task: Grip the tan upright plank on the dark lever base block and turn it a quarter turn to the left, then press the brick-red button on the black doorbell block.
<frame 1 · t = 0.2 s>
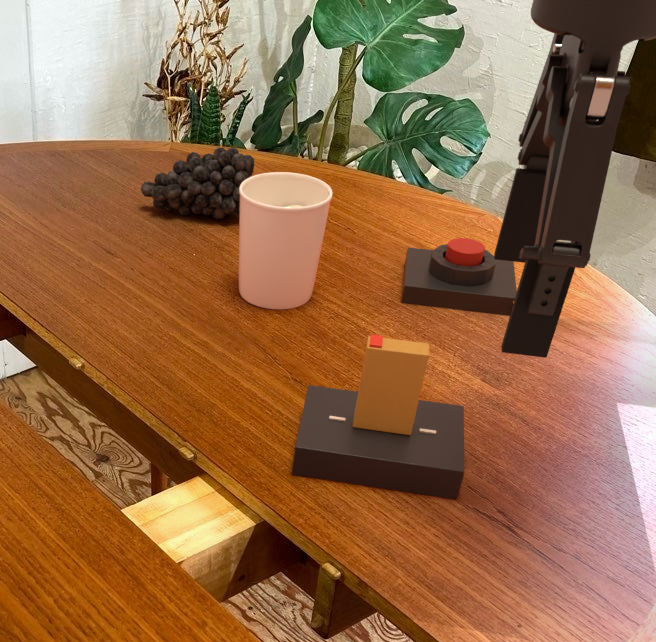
hand: (517, 302, 66), 20 cm above the table, tool pointing down, fingers open, 13 cm apart
bell block: (456, 289, 110), on the table
dark lever base block: (376, 453, 86), on the table
tan upright plank: (390, 385, 81), point 7 cm above the table, hinge at 0.0°
fruit: (197, 212, 126), on the table
bell button: (464, 252, 107), point 4 cm above the table, slide at 0.1 cm
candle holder: (274, 294, 109), on the table
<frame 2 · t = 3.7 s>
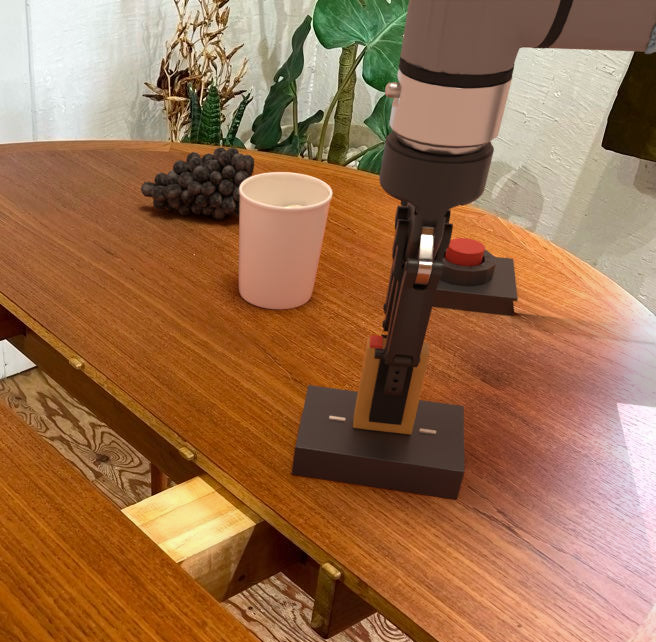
hand: (384, 411, 83), 4 cm above the table, tool pointing down, fingers closed on tan upright plank, 2 cm apart
tan upright plank: (390, 385, 81), point 7 cm above the table, hinge at 2.8°, touching gripper
everything else where it was.
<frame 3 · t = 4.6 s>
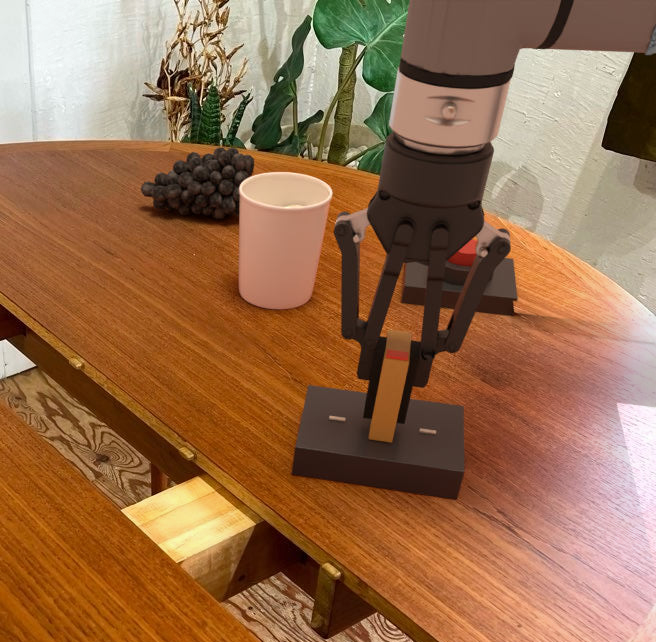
hand: (384, 411, 83), 4 cm above the table, tool pointing down, fingers closed on tan upright plank, 2 cm apart
tan upright plank: (390, 385, 81), point 7 cm above the table, hinge at 89.3°, touching gripper
everything else where it was.
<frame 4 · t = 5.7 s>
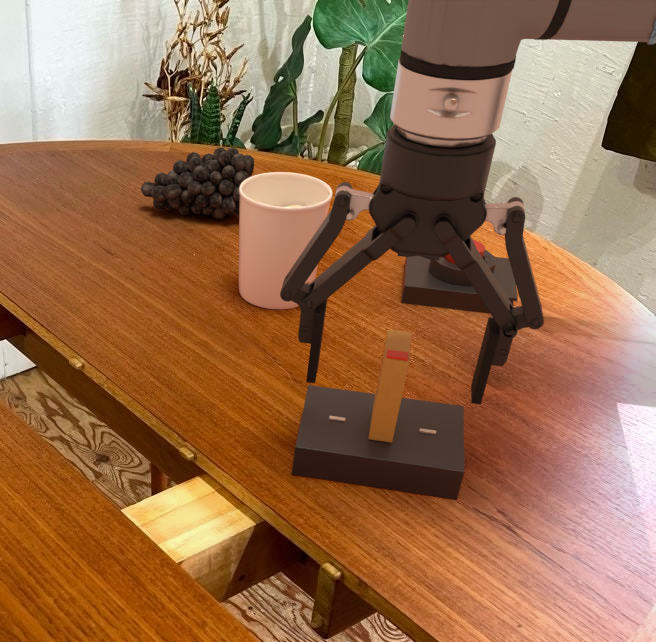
hand: (392, 385, 81), 7 cm above the table, tool pointing down, fingers open, 13 cm apart
tan upright plank: (390, 385, 81), point 7 cm above the table, hinge at 89.3°
everything else where it was.
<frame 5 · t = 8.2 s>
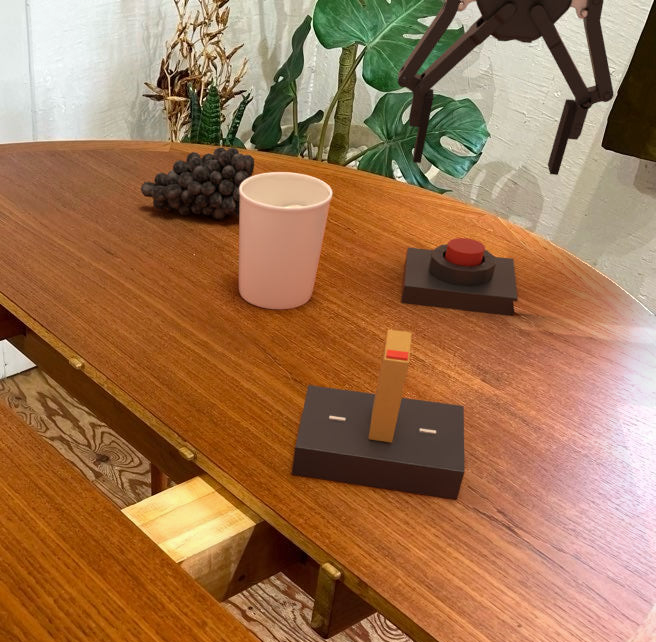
hand: (484, 164, 99), 15 cm above the table, tool pointing down, fingers open, 13 cm apart
nothing on the table moved.
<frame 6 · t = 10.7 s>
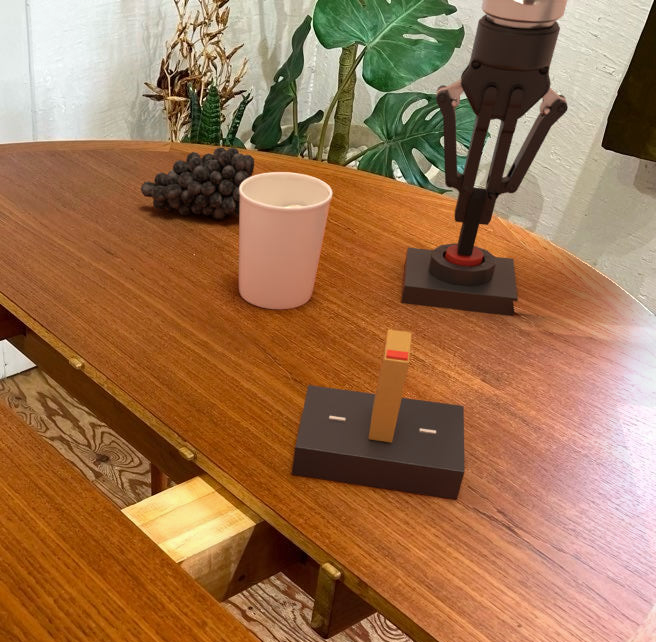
hand: (464, 249, 107), 5 cm above the table, tool pointing down, fingers closed
bell button: (463, 259, 107), point 4 cm above the table, slide at -0.7 cm, touching gripper
everything else where it was.
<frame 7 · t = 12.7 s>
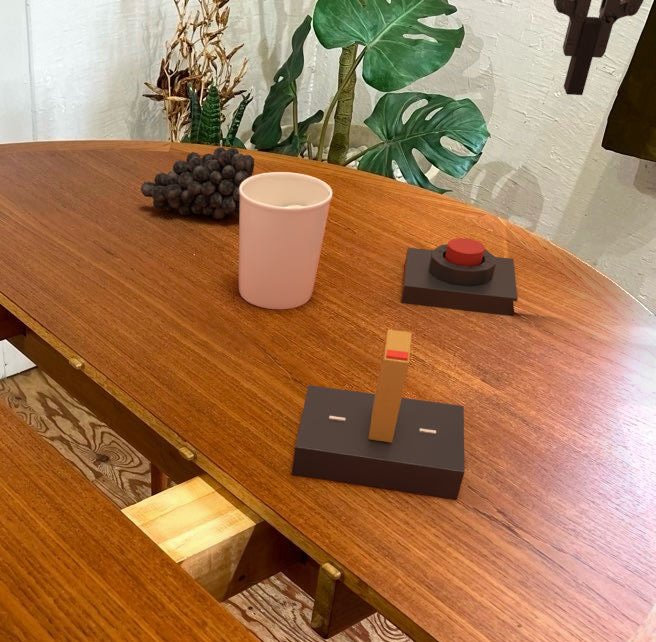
hand: (572, 90, 97), 21 cm above the table, tool pointing down, fingers closed
bell button: (464, 252, 107), point 4 cm above the table, slide at 0.1 cm
everything else where it was.
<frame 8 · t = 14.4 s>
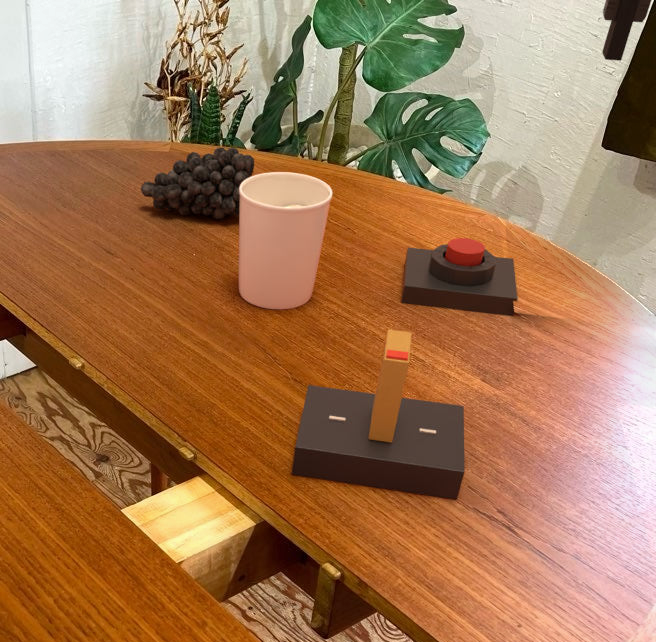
hand: (611, 56, 96), 24 cm above the table, tool pointing down, fingers closed
nothing on the table moved.
at the end: tan upright plank at +89° (first picture: +0°); bell button pushed in 1.0 cm at the most during the clip, back to where it started at the end; bell button slide at 0.1 cm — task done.
